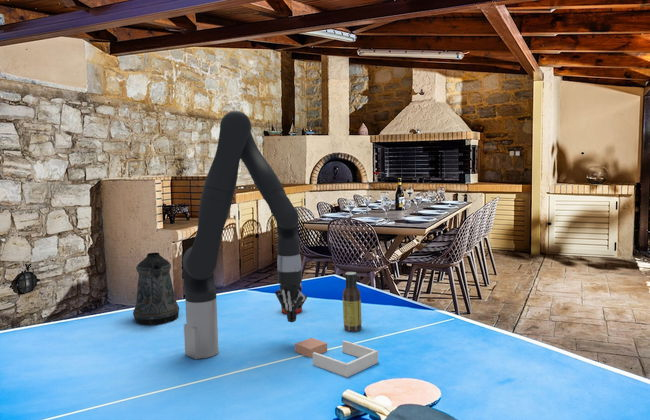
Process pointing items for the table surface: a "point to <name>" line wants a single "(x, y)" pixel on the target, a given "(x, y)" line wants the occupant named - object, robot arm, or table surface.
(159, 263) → the dark grey bell-shaped piece
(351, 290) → the sauce bottle
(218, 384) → the table surface
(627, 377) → the table surface
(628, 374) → the table surface
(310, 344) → the terracotta tile
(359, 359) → the box
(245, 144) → the robot arm
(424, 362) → the table surface
